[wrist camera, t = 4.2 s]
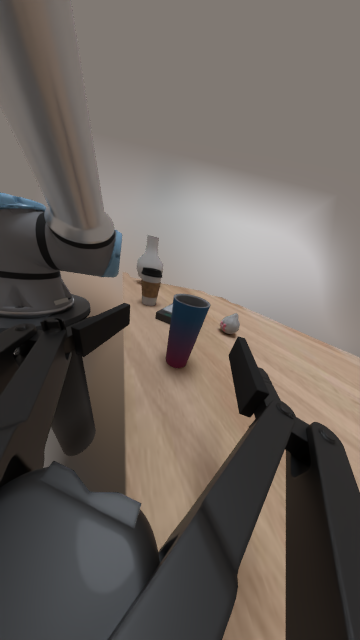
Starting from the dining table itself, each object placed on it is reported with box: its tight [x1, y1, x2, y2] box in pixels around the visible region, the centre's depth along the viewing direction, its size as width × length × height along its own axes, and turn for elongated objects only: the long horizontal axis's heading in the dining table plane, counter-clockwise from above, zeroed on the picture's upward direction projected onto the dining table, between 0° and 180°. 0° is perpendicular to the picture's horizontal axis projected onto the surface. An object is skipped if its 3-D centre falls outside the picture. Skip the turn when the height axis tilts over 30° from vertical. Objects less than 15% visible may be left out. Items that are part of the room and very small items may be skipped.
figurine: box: [220, 313, 240, 334], centre depth 46 cm, size 6×7×8 cm
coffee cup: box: [141, 267, 162, 306], centre depth 54 cm, size 8×8×15 cm
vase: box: [137, 235, 163, 279], centre depth 81 cm, size 17×16×28 cm
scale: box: [156, 303, 173, 324], centre depth 49 cm, size 14×14×3 cm
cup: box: [166, 294, 210, 368], centre depth 27 cm, size 7×7×15 cm
